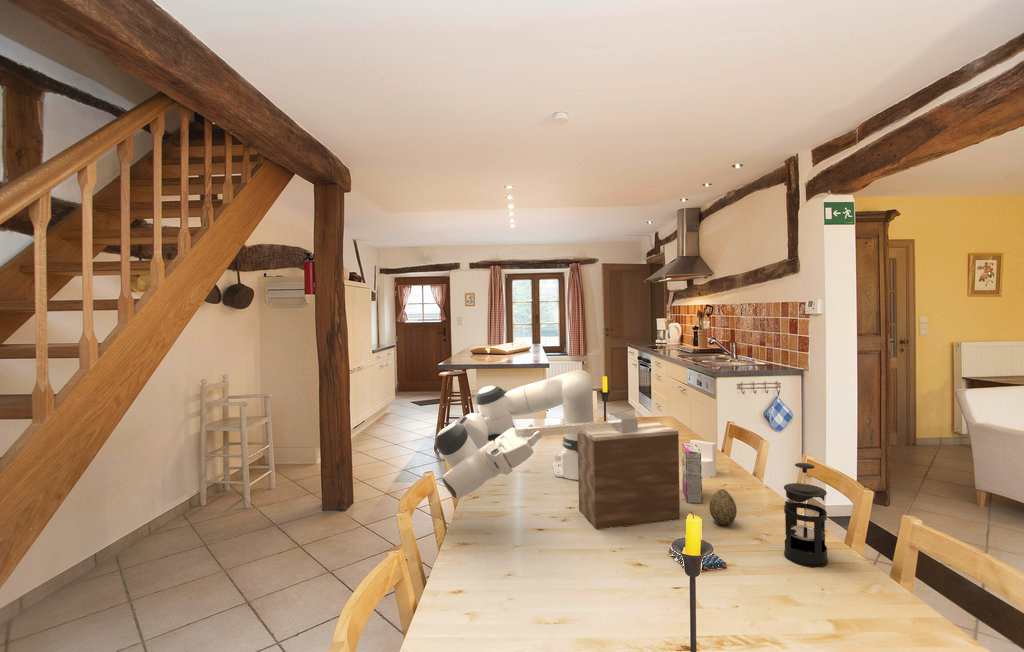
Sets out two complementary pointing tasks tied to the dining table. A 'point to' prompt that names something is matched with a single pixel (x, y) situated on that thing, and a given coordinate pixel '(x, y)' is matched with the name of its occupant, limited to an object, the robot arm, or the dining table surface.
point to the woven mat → (705, 561)
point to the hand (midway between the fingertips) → (536, 429)
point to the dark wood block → (629, 476)
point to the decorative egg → (723, 507)
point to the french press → (802, 534)
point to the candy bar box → (691, 473)
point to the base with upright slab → (707, 457)
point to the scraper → (585, 426)
